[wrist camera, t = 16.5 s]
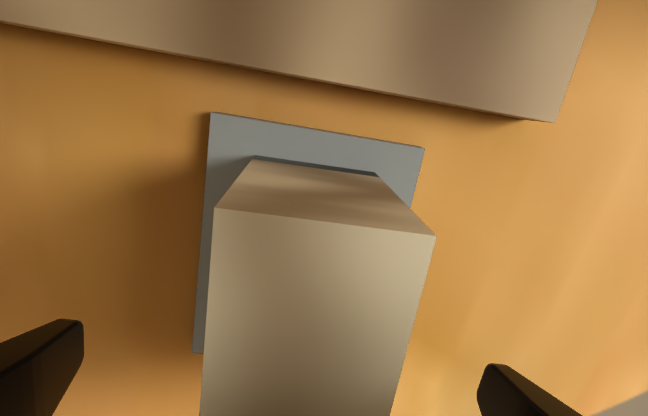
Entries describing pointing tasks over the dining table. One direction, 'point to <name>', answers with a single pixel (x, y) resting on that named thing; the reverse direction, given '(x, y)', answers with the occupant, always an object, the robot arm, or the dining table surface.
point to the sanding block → (310, 292)
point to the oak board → (355, 42)
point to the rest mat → (292, 144)
